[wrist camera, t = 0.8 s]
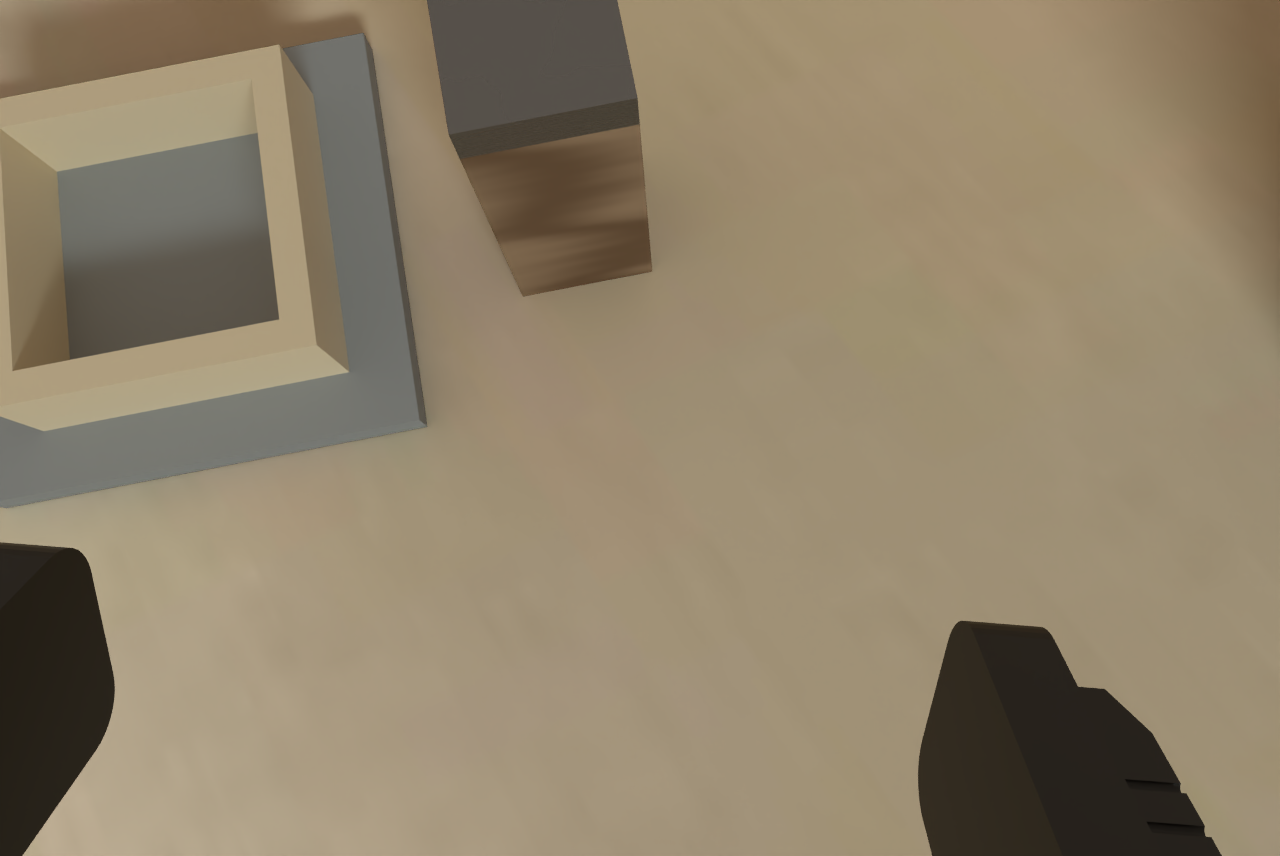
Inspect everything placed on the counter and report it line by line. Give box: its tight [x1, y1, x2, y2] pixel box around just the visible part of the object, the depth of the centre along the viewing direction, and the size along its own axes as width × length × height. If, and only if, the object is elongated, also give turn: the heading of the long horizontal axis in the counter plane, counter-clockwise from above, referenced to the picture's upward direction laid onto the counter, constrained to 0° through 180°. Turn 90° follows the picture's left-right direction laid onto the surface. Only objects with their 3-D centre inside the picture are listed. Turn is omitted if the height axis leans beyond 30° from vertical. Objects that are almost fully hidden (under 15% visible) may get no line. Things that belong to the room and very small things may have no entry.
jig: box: [0, 33, 427, 508], centre depth 33 cm, size 14×14×4 cm
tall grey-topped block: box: [427, 0, 652, 296], centre depth 29 cm, size 4×4×11 cm
